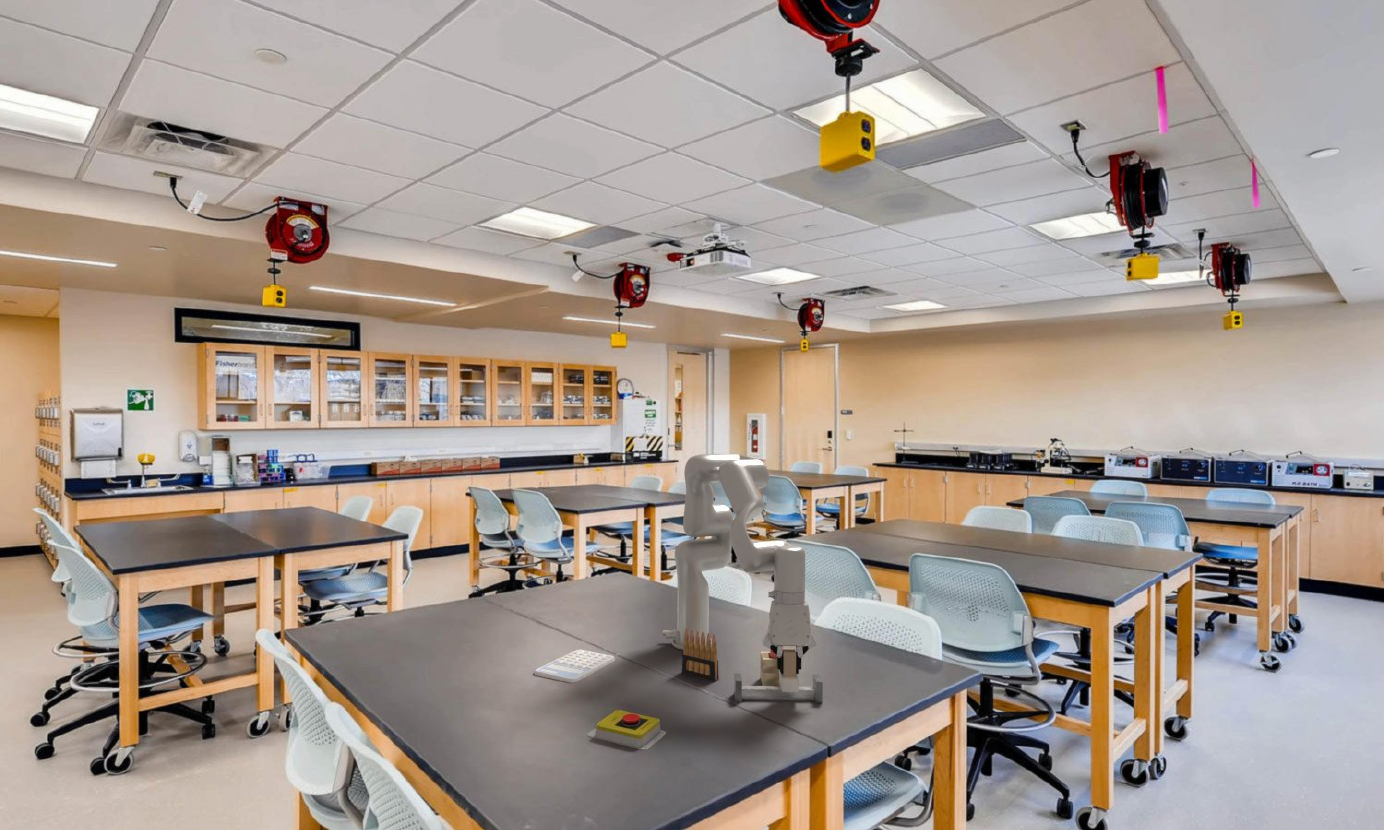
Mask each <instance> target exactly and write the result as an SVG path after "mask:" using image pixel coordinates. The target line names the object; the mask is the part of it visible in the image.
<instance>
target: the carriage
mask: <svg viewBox="0 0 1384 830" xmlns="http://www.w3.org/2000/svg"><path fill="white" fill-rule="evenodd" d="M782 654H783V658H784V674H781V673H780V670H779V683H780V686H781V690H782V692H799V687H800V679H799V676H798V674H796V648H792V647H787V648H786V647H784V648H783V649H782Z"/></svg>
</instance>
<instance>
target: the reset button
mask: <svg viewBox="0 0 1384 830" xmlns="http://www.w3.org/2000/svg"><path fill="white" fill-rule="evenodd" d="M783 648H785V646H783ZM769 652H770V658H771V659H777V655H776V654H775V653H774V652H773V651H772V650H771V649H769Z"/></svg>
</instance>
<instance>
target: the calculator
mask: <svg viewBox="0 0 1384 830" xmlns="http://www.w3.org/2000/svg"><path fill="white" fill-rule="evenodd" d="M615 661H616V658H615V656H614V655H611V654H607V653H600V652H595V651H594V652H593V651H589V650H584V649H580V648H579V649H576V650H573V651H571V652H569V653H567V654H565V655H564V656H561V657H558V658H557V659H555V660H553V661H551V662H548V663H546V664H544V665H542V666H541V667H538V668H536V669H535V671H534V675H535V676H539V677H541V678H547V679H552V680H557V681H560V682H564V683H565V682H566V683H570V684H571V683H573V684H575V683H577V682H579V681H580V680H583V679H584V678H586V677H588V676H590V675H592V674H593V673H596V672H597V671H599V670H600V669H603V668H604V667H606V666H608V665H609V664H611V663H613V662H615Z"/></svg>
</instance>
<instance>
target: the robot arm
mask: <svg viewBox="0 0 1384 830" xmlns="http://www.w3.org/2000/svg"><path fill="white" fill-rule="evenodd" d="M683 473H684V482H685V498H684V509H683V520H682V527H683V528H682V529H683V531H684V533H685V535H687V536H688V537H692V538H696V539H688V540H684V541H682V542H680V543H679V544H678V545H676V547H675V550H674V562H675V568H676V576H677V577H676V579H677V610H676V611H677V612H676V613H677V615H676V616H677V617H676V618H677V623H676V624H677V625H676V629H675V628H674V629H672V630H668V629H663V630H662V637H663V638H665V639H672V640H671V645H672V647H674V648H676V649H678V650H682V651H683V645H684V635H685V630H686V628H687V629H688V634H689V643H690V633H691V630H693V632H694V643H695V638H696V632H697V631H698V632H699V636H700V646H701V635H702V632H704V634H705V646H706V640H707V635H708V633H709V634H710V630H709V627H710V625H709V623H710V621H709V620H710V618H709V617H710V616H709V615H710V611H709V610H710V602H709V601H710V587H709V586H710V585H709V583H708V581H707V579H706V578H705V576H704V574H703V572H705V571H712V570H720V569H723V568H725V567H726V566H728V565H729V562H730V559H731V554H732V550H733V552H734V554H735V557H736V558H737V562H738V563H739V564H740V566H741V568H742V569H743V570H744V571H746V572H748V573H753V574H756V573H763V572H770V571H771V572H772V571H773V572H774V573H773V574H774V578H773V579H774V581H773V586H774V587H773V589H772V590H771V591H768V593H767V594H768V595H767V596H768V598H770V599H772V601H771V603H770V609H769V615H768V628H767V632H766V634H765V636H764V637H763V640H762V642H761V643H762V645H763V646H764V647H765V648H767V649H769V650H770V649H771V650H772V651H773V652H774V653H775V654H776V655H777V669H779V670H780V673H781V674H784V658H783V654H782V649H783V647H795V651H796V674H797V675H800V670H802V658H803V657H804V655H805V654H806V653H807V652H809V650H811V649H813V648H815V647H816V646H817V642H816V640H815V638H814V637H813V635H812V623H811V612H810V605H809V603H808V602H807V601H806V551H805V549H804V548H803V547H802V546H798V545H793V544H790V543H788V542H787V541H785V540H781V539H776V540H774V539H773V540H760V541H752V539H751V538H750V535H749V532H748V530H747V523H749V522H750V521H752V520H753V519H755V518H757V517H758V516H759V515H760V514H761V513H762V512H763V511H764V508H765V505H766V504H765V502H764V500H763V496H762V495H761V493H760V491H759V489H763V488H765V487H767V485H768V483H769V480H770V473H769V468H768V467H767V465H766V464H765V463H764V462H763V461H762V460H760V459H758V458H754V457H751V456H747V455H745V454H744V455H743V454H741V453H740V454H739V453H704V454H703V453H702V454H696V455H693V456H691V457H690V458H688V460H687V461H686V463H685V466H684V472H683ZM712 484H721V486H722V489H723V491H724V494H725V495H726V498H727V501H728V502H729V504H730V507H731V508H730V507H729V506H727V505H726V504H722V503H715V504H714V500H715V491H714V488H713V486H712ZM732 511H733V512H732ZM702 537H703V538H702ZM704 537H705V538H704ZM706 537H708V538H706ZM709 537H710V538H709ZM697 538H698V539H697ZM711 648H712V638H711Z"/></svg>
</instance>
